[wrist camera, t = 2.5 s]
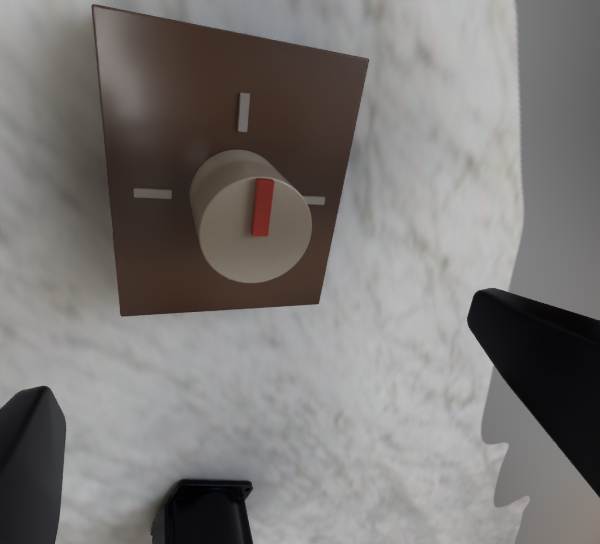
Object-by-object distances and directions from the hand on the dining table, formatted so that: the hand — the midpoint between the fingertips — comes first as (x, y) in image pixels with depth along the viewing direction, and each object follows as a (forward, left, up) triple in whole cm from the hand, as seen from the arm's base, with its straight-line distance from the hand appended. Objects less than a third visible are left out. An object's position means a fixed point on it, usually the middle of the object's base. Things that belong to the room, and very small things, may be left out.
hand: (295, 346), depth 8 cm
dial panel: (-1, 0, -13) cm, 13 cm away
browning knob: (-1, 0, -10) cm, 10 cm away
